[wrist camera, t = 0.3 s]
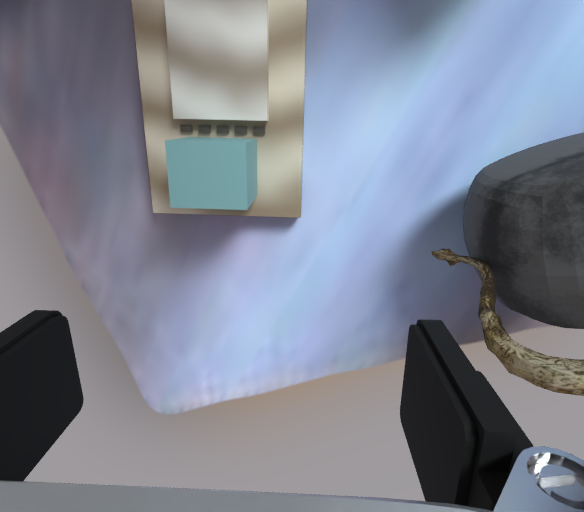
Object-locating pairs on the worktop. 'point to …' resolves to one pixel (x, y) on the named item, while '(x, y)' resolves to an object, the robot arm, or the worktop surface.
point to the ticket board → (225, 89)
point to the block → (212, 172)
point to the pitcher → (530, 252)
